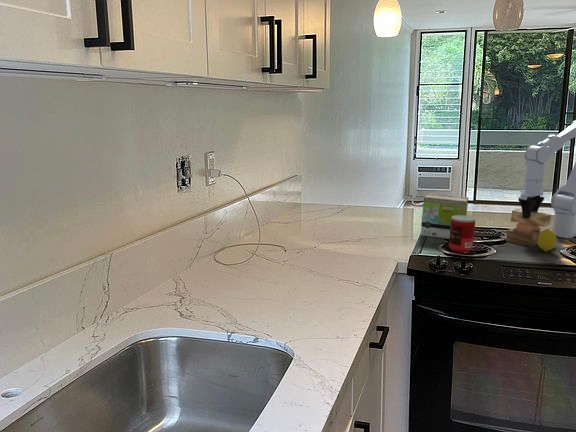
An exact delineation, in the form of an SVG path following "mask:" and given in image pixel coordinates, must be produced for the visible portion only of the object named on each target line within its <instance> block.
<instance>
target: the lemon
mask: <svg viewBox="0 0 576 432" xmlns="http://www.w3.org/2000/svg"><path fill="white" fill-rule="evenodd" d="M545 229H546V230H543V231H542V232H541V233H540V234H539V236H538V244H537V245H538V247H539V248H540V249H541V250H543V251H544V252H545V253H547V252H548V251H551V250H553V249H554V248H555V246H556V243H557V236H556V235H555V233H554V232H553V231H552V229H550V228H545Z"/></svg>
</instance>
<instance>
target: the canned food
mask: <svg viewBox="0 0 576 432" xmlns="http://www.w3.org/2000/svg"><path fill="white" fill-rule="evenodd" d="M475 226H476V218H475V217H473V216H470V215H467V216H464V215H455V216H452V218H451V227H450V239H448V249H449V250H450V251H453V252H456V253H469V252H472V251H473V248H474V237H475V229H476V227H475ZM471 250H472V251H471Z"/></svg>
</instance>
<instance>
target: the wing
mask: <svg viewBox="0 0 576 432" xmlns="http://www.w3.org/2000/svg"><path fill="white" fill-rule="evenodd" d="M551 221H552V214H550V213H544V212H539V211H538V212H534V211H531V215H530V218H529V219H528V218H523V215H522V208H515V209H513V210H511V217H510V222H511V223H512V222H513V223H517V224H518V223H523V224H529V225H534V226H539V227H540V228H546V227H550V226H551Z"/></svg>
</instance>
